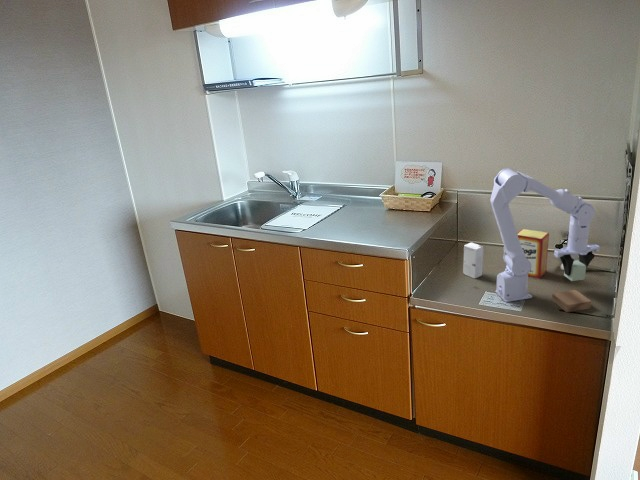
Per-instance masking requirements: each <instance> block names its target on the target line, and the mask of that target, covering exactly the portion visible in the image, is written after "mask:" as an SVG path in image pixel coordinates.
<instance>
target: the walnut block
mask: <svg viewBox="0 0 640 480" xmlns="http://www.w3.org/2000/svg"><path fill="white" fill-rule="evenodd" d="M551 301H552V302H553V303H555V304H556V305H557V306H558V307H560V309H562V310H563V311H565V313H571V312H572V313H573V312H576V311H577V312H578V311H583V310H590V309H591V308H592V300H590V299H589V298H588V297H586V296H585V295H584V294H582V293H581V292H579V291H578V290H576V289H571V290H567V291H566V290H565V291H560V292H554V293H553V292H552V295H551Z"/></svg>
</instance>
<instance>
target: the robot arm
mask: <svg viewBox="0 0 640 480" xmlns="http://www.w3.org/2000/svg"><path fill="white" fill-rule="evenodd" d="M530 191H531V192H535V193H536V194H539V195H540V196H542V197H545V198H547V199H548V200H549V201H550V205H551V206H553V207H555V208H557V209H559V210H561V211H563V212H565V213H567V214H568V215H570V216H569V217H570V219H569V227H568V235H567V236H568V239H567V246H565V247H562V248H560V249H556V250H554V253H553V256H554V257H555V258H556V259H560V261H561V265H562V264H563V267H564V270H563V271H564V272H565V274H566V275H568V276H570V274H571V268H572V264H573V262H574V259H573V258H572V256H571V255H574V254H578V258H579V261H580V262H581V263H583V264H584V265H586V270H587V268H588V267H589V266H590V265H589V264H590V263H591V262H592V260H593V259H595V256H596V255H595V254H594V253H593V252H595V253H599V252H600V248H601V247H600V245H598V244H588V243H589V236H590V235H589V234H590V227H591V226H590V225H591V220H592V219H593V218H594V217H595V215H596V211H595V209H594V206H593V205H592V204H591V203H589V202H587V201H586V200H584V199H583V197H581V196H576V195H575V194H572V193H571V190H569V189H567V188H565V189H563V188H560V189H553V188H551V187H550V186H548V185H547V184H545V183H543V182H541V181H539V180H537V179H536V178H534V177H532V176H530V175H527V174H526V173H523V172H520V171H518V170H517V171H515V170H514V169H513V168H507V167H506V168H503V169H501V170H500V171H499V172H498V173H497V175H495V177H494V178H493V187H492V190H491V196H490V199H489V200H490V205H491V209H492V212H493V214H494V217H495V221H496V225H497V228H498V230H499V233H500V238H501V240H502V244H503V248H502V249H503V257H502V258H503V259H502V260H503V262H504V263H505V264H506V266H505V270H504V271H502V272H500V273H498V274H497V276H496V290H495V293H496V294H497V295H498V296H499V297H500V298H501V299H502V300H503V301H504V302H507V303H509V302H514V301H520V300H527V299H532V298H533V295H532V294H530V292H528V283H529V276H528V273H529V272H530V270H531V267H532V266H531V262H530V261H529V260H528V259H527V258H526V256H525V253H524V251H523V249H522V248H521V245H520V242H519V238H518V235H517V233H518V231H517V229H516V225H515V223H514V222H515V221H514V219H513V215H512V212H511V208H510V205H509V204H510V203H511V201H512V200H513V199H515V198H516V197H517V196H519V195H520V194H521V193H523V192H524V193H528V192H530ZM564 272H563V273H564Z"/></svg>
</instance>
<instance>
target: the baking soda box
mask: <svg viewBox="0 0 640 480" xmlns="http://www.w3.org/2000/svg"><path fill="white" fill-rule="evenodd" d="M517 235H518V238H519V242H520V245H521V248H522V249H523V251H524V253H525V256H526V258H527V259H528V260H529V261H530V262H531V266H532V267H531V270H530V272H529V273H528V277H531V278H535V279H541V278H542V277H543V276H544V275H545V274H546V273H547V267H548V266H547V265H548V254H549V253H548V251H549V241H550V232H545V231H540V230H531V229H526V228H522V229H521V230H519V231H517Z"/></svg>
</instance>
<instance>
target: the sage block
mask: <svg viewBox="0 0 640 480" xmlns="http://www.w3.org/2000/svg"><path fill="white" fill-rule="evenodd" d="M586 271H587V269H586V265H584V264H583V263H581V262H580V261H578V260H577V261H574V262H573V264H572V268H571V274H570V276H568V275H566V274H565V272H563V276H564V277H566V278H567V279H568V280H569V281H570V282H576V281H581V280H585V279H586V274H587V273H586Z"/></svg>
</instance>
